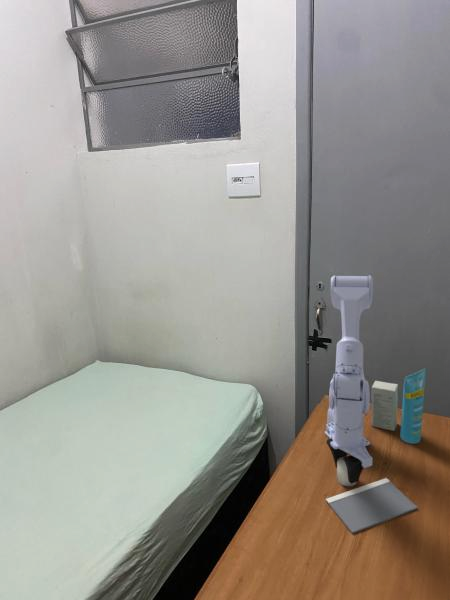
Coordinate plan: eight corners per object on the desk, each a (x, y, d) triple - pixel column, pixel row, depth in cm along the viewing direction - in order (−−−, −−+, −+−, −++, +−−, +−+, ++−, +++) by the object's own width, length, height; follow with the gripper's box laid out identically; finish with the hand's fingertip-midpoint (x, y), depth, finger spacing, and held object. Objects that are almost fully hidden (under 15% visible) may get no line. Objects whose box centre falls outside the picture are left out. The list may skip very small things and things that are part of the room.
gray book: (325, 500, 89) (325, 498, 88) (385, 479, 93) (385, 477, 93) (352, 533, 80) (352, 531, 80) (417, 508, 85) (417, 506, 85)
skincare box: (397, 423, 114) (399, 384, 110) (394, 431, 110) (396, 391, 107) (373, 418, 117) (375, 379, 114) (369, 425, 114) (371, 386, 110)
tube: (410, 448, 103) (415, 380, 98) (393, 439, 107) (397, 373, 102) (427, 437, 107) (432, 370, 102) (410, 429, 111) (414, 364, 106)
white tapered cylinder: (333, 476, 96) (333, 459, 94) (349, 470, 97) (349, 454, 96) (344, 488, 92) (344, 471, 90) (360, 483, 93) (361, 466, 92)
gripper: (314, 410, 95) (315, 460, 99) (352, 446, 82) (351, 501, 86) (340, 404, 98) (339, 452, 101) (381, 437, 84) (379, 491, 88)
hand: (347, 474), depth 94 cm, fingers closed on white tapered cylinder, 4 cm apart
